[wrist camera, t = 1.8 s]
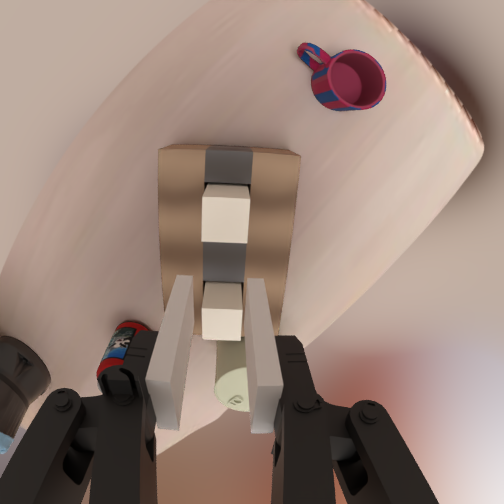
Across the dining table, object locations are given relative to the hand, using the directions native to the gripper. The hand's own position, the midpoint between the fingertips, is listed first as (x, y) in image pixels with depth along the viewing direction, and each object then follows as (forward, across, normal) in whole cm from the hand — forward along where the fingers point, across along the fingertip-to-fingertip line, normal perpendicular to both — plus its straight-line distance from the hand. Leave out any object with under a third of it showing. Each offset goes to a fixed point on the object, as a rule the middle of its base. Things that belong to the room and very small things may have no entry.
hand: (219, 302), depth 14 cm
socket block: (+25, 0, -6) cm, 25 cm away
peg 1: (+20, 0, 0) cm, 20 cm away
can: (+25, +4, -22) cm, 33 cm away
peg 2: (+20, 0, -11) cm, 22 cm away
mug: (+25, +11, +16) cm, 31 cm away
